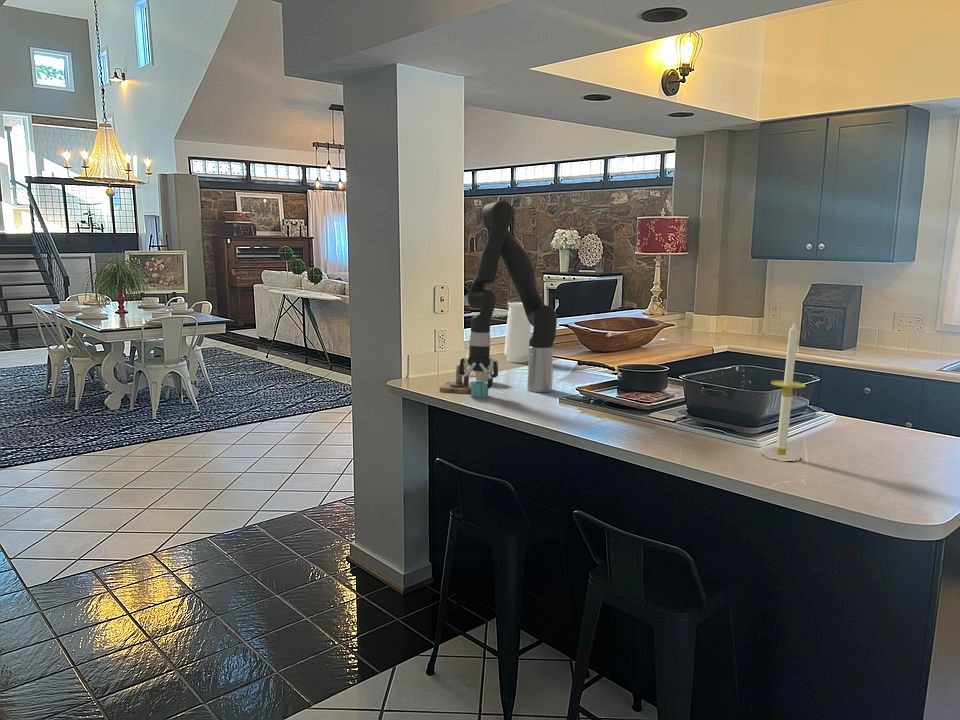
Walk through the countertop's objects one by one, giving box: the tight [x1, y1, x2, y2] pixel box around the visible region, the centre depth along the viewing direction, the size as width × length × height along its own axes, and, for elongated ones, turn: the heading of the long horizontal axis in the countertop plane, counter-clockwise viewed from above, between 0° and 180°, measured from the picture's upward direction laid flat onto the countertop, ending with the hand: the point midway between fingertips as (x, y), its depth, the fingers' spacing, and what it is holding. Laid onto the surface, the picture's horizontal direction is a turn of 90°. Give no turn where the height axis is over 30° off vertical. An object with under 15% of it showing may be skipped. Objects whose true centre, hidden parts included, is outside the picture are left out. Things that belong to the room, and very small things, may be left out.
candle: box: [770, 319, 806, 455], centre depth 181 cm, size 10×10×38 cm
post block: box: [439, 364, 472, 395], centre depth 258 cm, size 12×12×10 cm
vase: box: [503, 301, 532, 364], centre depth 324 cm, size 13×13×28 cm
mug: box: [464, 356, 496, 382], centre depth 274 cm, size 8×13×10 cm, turn 78°
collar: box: [470, 380, 489, 399], centre depth 249 cm, size 6×6×5 cm
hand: (478, 387), depth 249 cm, fingers open, 8 cm apart
